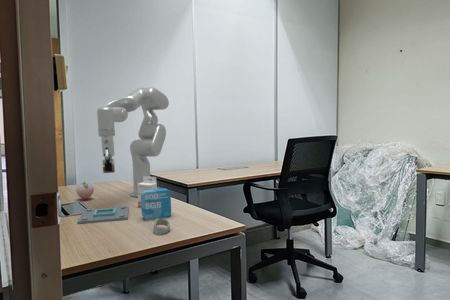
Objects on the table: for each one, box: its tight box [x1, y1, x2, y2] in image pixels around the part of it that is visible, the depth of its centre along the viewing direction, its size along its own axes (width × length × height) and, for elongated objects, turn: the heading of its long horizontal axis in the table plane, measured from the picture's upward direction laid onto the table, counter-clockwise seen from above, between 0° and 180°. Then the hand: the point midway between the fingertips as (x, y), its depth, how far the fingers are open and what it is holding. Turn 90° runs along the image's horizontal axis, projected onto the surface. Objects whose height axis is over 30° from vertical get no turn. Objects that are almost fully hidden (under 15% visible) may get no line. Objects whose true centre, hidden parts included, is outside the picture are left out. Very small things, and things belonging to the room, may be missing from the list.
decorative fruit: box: [75, 181, 95, 200], centre depth 187 cm, size 9×8×10 cm
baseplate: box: [76, 205, 130, 225], centre depth 154 cm, size 20×20×2 cm
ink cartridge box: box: [137, 176, 158, 208], centre depth 168 cm, size 9×5×15 cm, turn 65°
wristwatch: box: [152, 218, 171, 235], centre depth 131 cm, size 9×6×5 cm
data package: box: [140, 187, 172, 221], centre depth 149 cm, size 12×4×12 cm, turn 114°
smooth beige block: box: [102, 158, 116, 174], centre depth 169 cm, size 5×5×6 cm
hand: (109, 169), depth 169 cm, fingers closed on smooth beige block, 5 cm apart
